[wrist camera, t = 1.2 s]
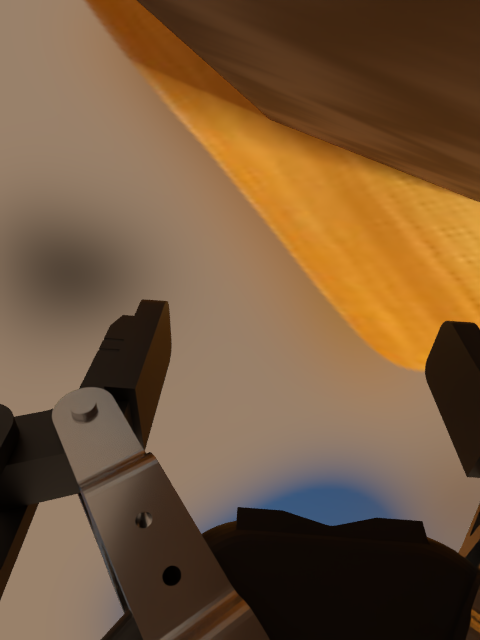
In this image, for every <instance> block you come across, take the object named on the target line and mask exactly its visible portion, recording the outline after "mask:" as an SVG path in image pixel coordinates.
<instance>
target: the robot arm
mask: <svg viewBox="0 0 480 640" xmlns="http://www.w3.org/2000/svg"><path fill="white" fill-rule="evenodd" d="M169 314H170V313H169V304H168V302H167V301H157V300H141V302H140V304H139V306H138V309H137V311H136V313H135V316H128V315H122V317H120V318H119V319H118V320H116V321H115V322H114V323H113V324H112V325H111V326H110V327H109V330H108V331H107V333H106V335H105V338H104V340H103V342H102V344H101V346H100V348H99V351H98V352H97V354H96V356H95V358H94V360H93V362H92V364H91V366H90V368H89V370H88V372H87V374H86V376H85V378H84V380H83V382H82V384H81V386H80V388H79V389H77V390H74V391H72V392H70V393H68V394H66V395H65V396H64V397H62V398H61V399H60V400H59V401H58V402H57V404H56V405H55V407H54V409H51V410H48V411H43V412H38V413H32V414H27V415H22V416H16V417H14V416H13V414H12V412H11V410H10V409H9V408H8V407H6V406H4V405H1V404H0V600H1V597H2V594H3V592H4V589H5V587H6V584H7V582H8V579H9V577H10V574H11V572H12V569H13V567H14V564H15V562H16V559H17V557H18V554H19V551H20V549H21V547H22V544H23V541H24V539H25V537H26V534H27V532H28V529H29V526H30V524H31V521H32V519H33V516H34V514H35V511H36V509H37V506H38V504H39V502H44V501H47V500H52V499H56V498H61V497H65V496H69V495H73V494H78V496H79V499H80V502H81V504H82V507H83V509H84V512H85V514H86V516H87V519H88V522H89V524H90V527H91V529H92V532H93V534H94V537H95V539H96V542H97V544H98V547H99V549H100V552H101V555H102V557H103V560H104V563H105V565H106V568H107V571H108V574H109V576H110V579H111V582H112V584H113V587H114V589H115V592H116V594H117V597H118V600H119V602H120V605H121V607H122V610H123V612H124V615H123V616H122V617H121V618H120V619H119V620H118V621H117V623H116V624H115V625H114V626H113V627H112V628H111V629H110V630H109V631H108V632H107V634H106V635H105V636H104V637H103V638H102V639H101V640H480V503H479V505H478V508H477V510H476V513H475V515H474V517H473V520H472V522H471V525H470V527H469V529H468V532H467V534H466V537H465V539H464V542H463V544H462V546H461V548H460V550H459V552H458V553H457V552H456V551H455V550H453V549H451V548H449V547H447V546H446V545H444V544H442V543H440V542H438V541H435V540H433V539H431V538H428V537H427V536H426V533H425V529H424V526H423V522H422V521H412V520H399V519H386V518H373V519H368V520H363V521H357V522H352V523H347V524H342V525H337V526H328V525H325V524H322V523H319V522H316V521H312V520H310V519H307V518H303V517H300V516H297V515H294V514H291V513H288V512H285V511H280V510H268V509H255V508H241V507H238V510H237V521H233V522H228V523H225V524H222V525H219V526H216V527H214V528H212V529H210V530H208V531H206V532H204V533H203V534H201V533H200V531H199V529H198V528H197V526H196V524H195V523H194V521H193V519H192V518H191V516H190V514H189V513H188V511H187V509H186V507H185V506H184V504H183V502H182V501H181V499H180V497H179V496H178V494H177V492H176V491H175V489H174V488H173V486H172V484H171V482H170V480H169V479H168V477H167V475H166V474H165V472H164V470H163V469H162V467H161V465H160V464H159V462H158V460H157V459H156V457H155V456H154V455H153V454H152V453H150V452H149V453H147V454H146V452H145V448H146V445H147V441H148V438H149V434H150V430H151V427H152V423H153V420H154V416H155V412H156V409H157V405H158V401H159V398H160V394H161V391H162V387H163V384H164V380H165V377H166V373H167V369H168V366H169V362H170V356H171V328H170V315H169ZM425 375H426V380H427V383H428V385H429V388H430V390H431V392H432V395H433V397H434V399H435V402H436V404H437V407H438V409H439V411H440V414H441V416H442V419H443V421H444V423H445V426H446V428H447V430H448V433H449V435H450V438H451V440H452V442H453V445H454V447H455V449H456V452H457V454H458V457H459V459H460V461H461V464H462V466H463V469H464V471H465V473H466V476H467V477H477V478H480V329H479V328H478V326H477V325H476V324H475V323H471V322H456V321H445V322H444V323H443V324H442V325H441V327H440V330H439V332H438V334H437V337H436V339H435V342H434V344H433V347H432V349H431V351H430V354H429V356H428V359H427V361H426V366H425Z"/></svg>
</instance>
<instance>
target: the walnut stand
mask: <svg viewBox="0 0 480 640" xmlns="http://www.w3.org/2000/svg"><path fill="white" fill-rule="evenodd" d="M137 1H138V2H139V3H140V4H142V5H143V6H144V7H145V8H146V9H147V10H148V11H149V12H151V13H152V14H153V15H154V16H155V17H156V18H157V19H158V20H160V21H161V22H162V23H163V24H164V25H165V26H166V27H167V28H168V29H170V30H171V31H172V32H173V33H174V34H175V35H176V36H177V37H179V38H180V39H181V40H182V41H183V42H184V43H185V44H186V45H188V46H189V47H190V48H191V49H192V50H193V51H194V52H195V53H196V54H198V55H199V56H200V57H201V58H202V59H203V60H204V61H205V62H207V63H208V64H209V65H210V66H211V67H212V68H213V69H214V70H215V71H217V72H218V73H219V74H220V75H221V76H222V77H223V78H224V79H226V80H227V81H228V82H229V83H230V84H231V85H232V86H233V87H235V88H236V89H237V90H238V91H239V92H240V93H241V94H242V95H243V96H245V97H246V98H247V99H248V100H249V101H250V102H251V103H252V104H254V105H255V106H256V107H257V108H258V109H259V110H260V111H261V112H263V113H264V114H265V115H266V116H267V117H268V118H269V119H270V120H273V121H276V122H278V123H281V124H283V125H286V126H288V127H291V128H293V129H296V130H298V131H301V132H304V133H306V134H309V135H311V136H314V137H316V138H319V139H321V140H324V141H326V142H329V143H332V144H334V145H337V146H339V147H342V148H344V149H347V150H349V151H352V152H354V153H357V154H360V155H362V156H365V157H367V158H370V159H372V160H375V161H377V162H380V163H382V164H385V165H388V166H390V167H393V168H395V169H398V170H400V171H403V172H405V173H408V174H410V175H413V176H416V177H418V178H421V179H423V180H426V181H428V182H431V183H433V184H436V185H438V186H441V187H443V188H446V189H449V190H451V191H454V192H456V193H459V194H461V195H464V196H466V197H469V198H471V199H474V200H477V201H479V202H480V0H137Z"/></svg>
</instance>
